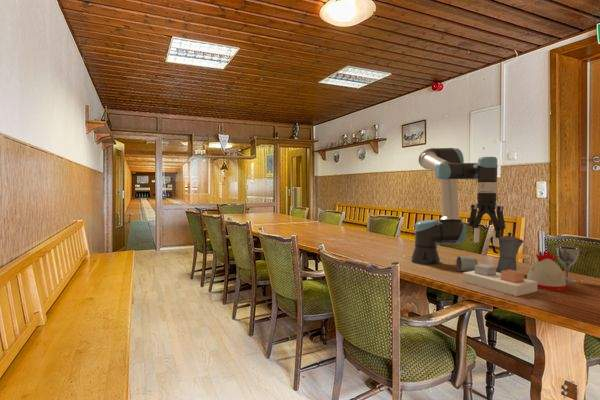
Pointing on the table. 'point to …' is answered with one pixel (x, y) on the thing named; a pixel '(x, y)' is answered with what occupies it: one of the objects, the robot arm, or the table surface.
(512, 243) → the moka pot
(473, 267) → the grey cylinder
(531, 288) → the panel
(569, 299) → the table surface
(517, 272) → the pink rounded block
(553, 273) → the beige red dome
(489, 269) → the grey rounded block
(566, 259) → the wine glass
